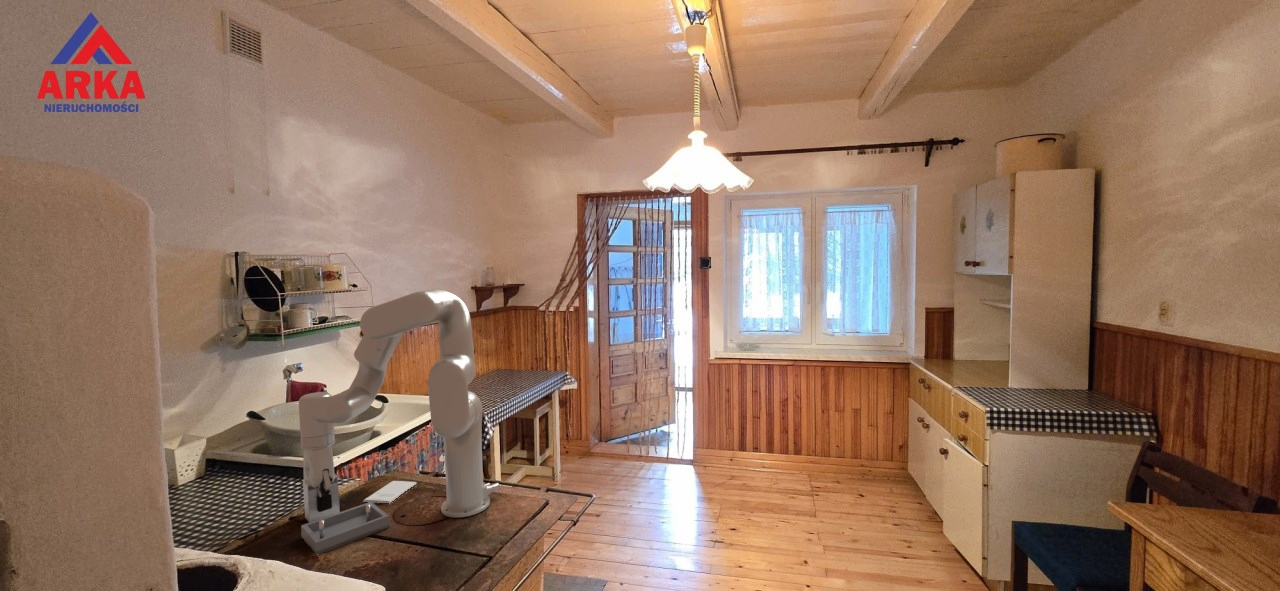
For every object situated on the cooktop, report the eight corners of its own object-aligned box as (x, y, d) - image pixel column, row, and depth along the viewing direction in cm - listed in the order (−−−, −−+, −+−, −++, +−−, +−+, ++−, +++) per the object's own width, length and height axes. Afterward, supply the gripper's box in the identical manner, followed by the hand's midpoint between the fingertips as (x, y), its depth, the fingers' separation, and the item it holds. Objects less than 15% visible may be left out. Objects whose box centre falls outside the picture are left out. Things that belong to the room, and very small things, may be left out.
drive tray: (371, 512, 134) (370, 494, 134) (389, 527, 126) (388, 508, 126) (301, 537, 122) (300, 517, 122) (316, 555, 114) (315, 534, 114)
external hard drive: (417, 487, 151) (389, 506, 139) (392, 485, 152) (363, 504, 140) (416, 481, 151) (389, 500, 138) (392, 480, 152) (363, 498, 140)
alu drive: (334, 507, 137) (332, 472, 137) (339, 512, 134) (337, 476, 134) (305, 517, 132) (302, 480, 131) (309, 522, 129) (307, 485, 129)
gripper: (292, 437, 135) (296, 503, 136) (311, 451, 124) (315, 522, 125) (324, 429, 140) (327, 493, 141) (344, 442, 129) (348, 511, 130)
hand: (322, 506), depth 133 cm, fingers closed on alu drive, 4 cm apart
